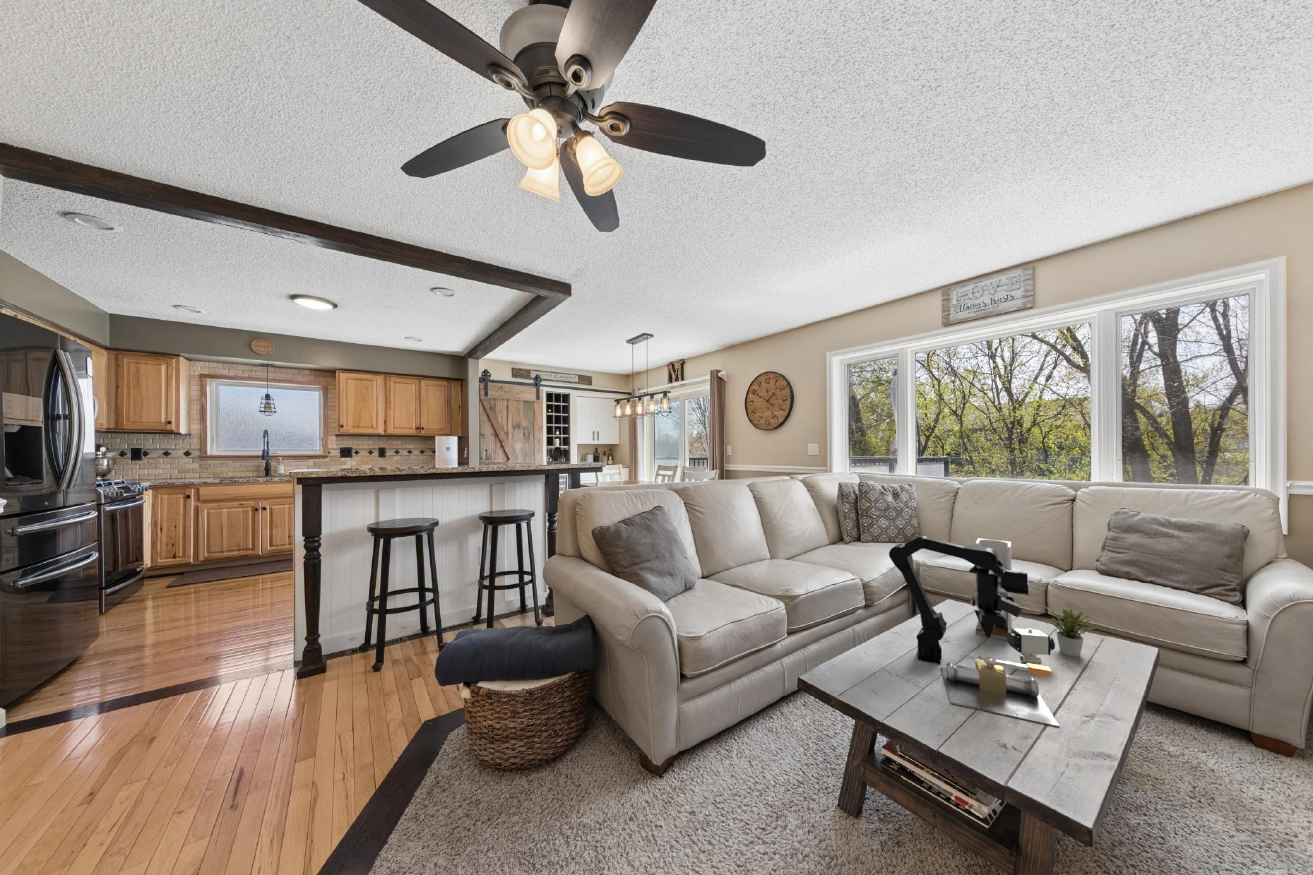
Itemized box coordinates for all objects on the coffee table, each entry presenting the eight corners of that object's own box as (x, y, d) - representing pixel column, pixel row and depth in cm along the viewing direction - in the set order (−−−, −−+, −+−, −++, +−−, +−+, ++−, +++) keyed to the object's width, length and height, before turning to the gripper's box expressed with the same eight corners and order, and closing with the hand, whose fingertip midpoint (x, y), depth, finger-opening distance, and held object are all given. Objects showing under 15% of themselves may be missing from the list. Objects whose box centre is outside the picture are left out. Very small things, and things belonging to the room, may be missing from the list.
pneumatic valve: (1055, 670, 146) (1055, 633, 146) (1014, 666, 149) (1014, 630, 149) (1044, 661, 152) (1044, 626, 152) (1005, 658, 154) (1005, 623, 154)
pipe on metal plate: (950, 704, 128) (950, 678, 128) (940, 668, 148) (940, 646, 148) (1059, 727, 117) (1059, 700, 117) (1033, 685, 137) (1033, 662, 137)
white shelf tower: (978, 624, 182) (977, 538, 183) (1011, 631, 176) (1011, 541, 176) (976, 633, 174) (975, 543, 174) (1011, 641, 167) (1010, 547, 167)
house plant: (1115, 665, 149) (1115, 616, 149) (1073, 664, 149) (1072, 615, 149) (1076, 645, 163) (1075, 600, 163) (1037, 645, 164) (1037, 600, 164)
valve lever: (985, 665, 135) (985, 659, 136) (983, 660, 138) (983, 655, 138) (1051, 677, 128) (1051, 671, 128) (1048, 672, 131) (1048, 666, 131)
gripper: (1027, 601, 132) (1028, 654, 132) (1010, 583, 149) (1011, 630, 149) (981, 596, 137) (982, 647, 137) (970, 578, 153) (970, 624, 153)
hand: (987, 637), depth 144 cm, fingers closed
